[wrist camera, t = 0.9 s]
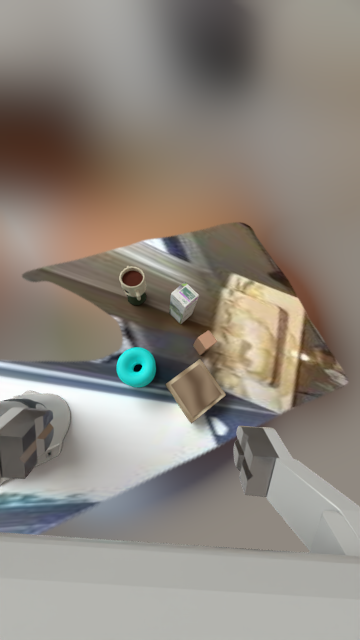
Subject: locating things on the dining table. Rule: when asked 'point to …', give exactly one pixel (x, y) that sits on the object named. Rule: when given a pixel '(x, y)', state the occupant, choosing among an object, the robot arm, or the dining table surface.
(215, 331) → the dining table surface
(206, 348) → the terracotta block
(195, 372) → the plinth
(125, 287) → the character mug
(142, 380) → the donuts
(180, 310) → the syrup box
